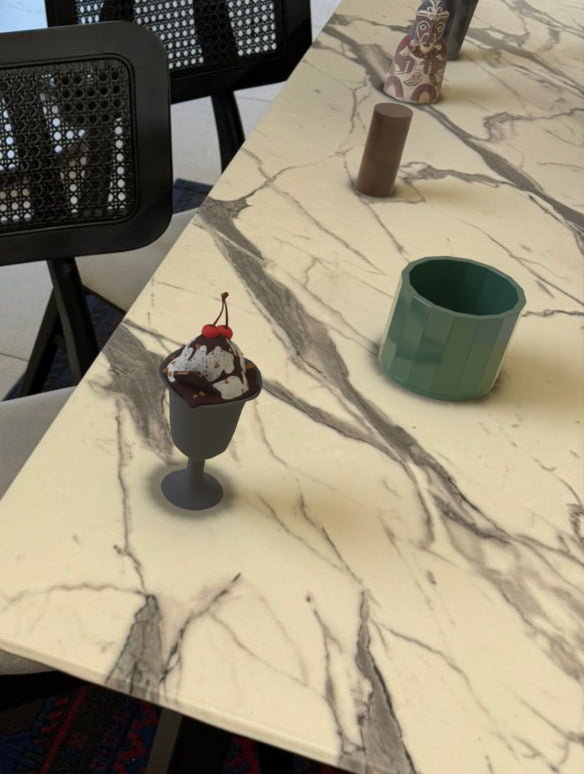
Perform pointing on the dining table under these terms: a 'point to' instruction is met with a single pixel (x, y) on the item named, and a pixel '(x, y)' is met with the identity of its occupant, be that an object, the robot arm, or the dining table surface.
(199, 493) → the sundae
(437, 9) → the figurine
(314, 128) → the dining table surface
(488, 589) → the dining table surface
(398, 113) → the pestle
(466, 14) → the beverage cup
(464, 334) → the crock
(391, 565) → the dining table surface
